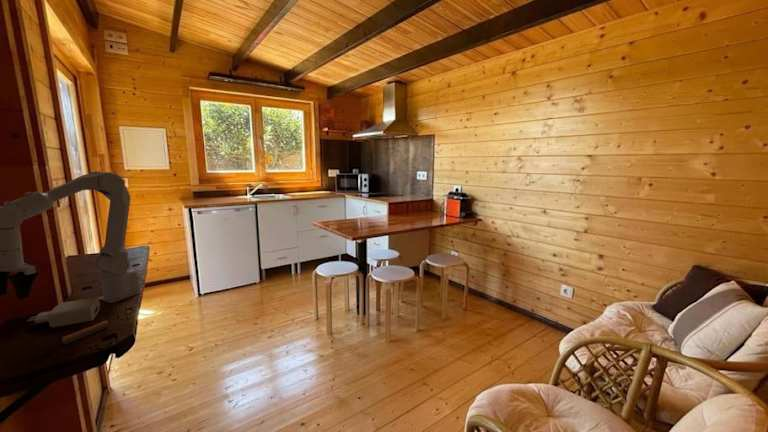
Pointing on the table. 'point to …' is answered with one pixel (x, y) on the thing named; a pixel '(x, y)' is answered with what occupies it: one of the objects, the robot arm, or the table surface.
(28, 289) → the robot arm
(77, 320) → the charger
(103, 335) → the table surface
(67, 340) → the brown stick
